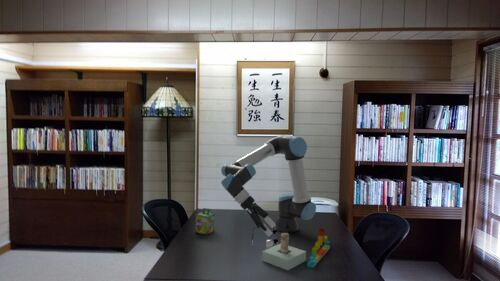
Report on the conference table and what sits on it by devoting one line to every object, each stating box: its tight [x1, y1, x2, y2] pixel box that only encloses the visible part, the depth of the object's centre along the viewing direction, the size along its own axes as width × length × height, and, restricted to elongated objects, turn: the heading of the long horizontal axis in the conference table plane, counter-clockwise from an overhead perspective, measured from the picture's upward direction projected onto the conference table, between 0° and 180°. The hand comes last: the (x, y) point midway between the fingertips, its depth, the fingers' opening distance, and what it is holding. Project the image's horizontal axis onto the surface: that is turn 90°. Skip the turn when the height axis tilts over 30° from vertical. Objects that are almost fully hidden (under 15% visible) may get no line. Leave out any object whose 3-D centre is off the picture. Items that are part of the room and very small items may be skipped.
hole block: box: [261, 242, 307, 271], centre depth 173 cm, size 16×16×5 cm
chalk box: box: [194, 207, 216, 236], centre depth 213 cm, size 9×9×15 cm
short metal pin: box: [265, 238, 274, 250], centre depth 188 cm, size 4×4×5 cm
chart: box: [307, 227, 331, 269], centre depth 179 cm, size 30×3×15 cm, turn 151°
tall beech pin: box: [280, 232, 290, 254], centre depth 172 cm, size 4×4×14 cm
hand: (272, 230), depth 173 cm, fingers open, 13 cm apart
